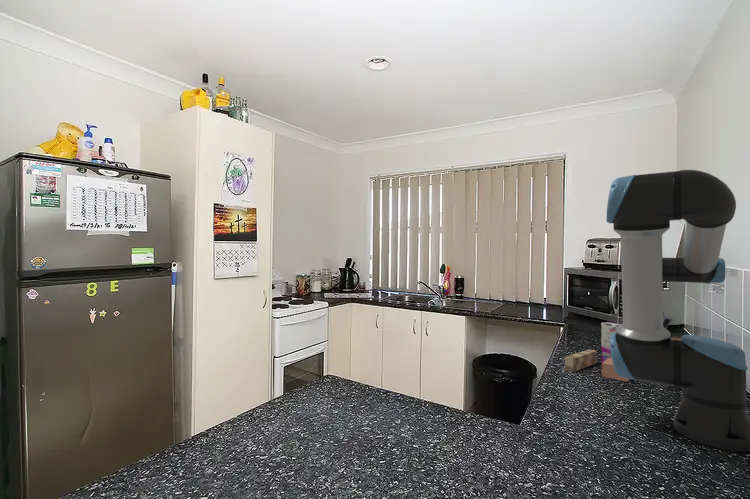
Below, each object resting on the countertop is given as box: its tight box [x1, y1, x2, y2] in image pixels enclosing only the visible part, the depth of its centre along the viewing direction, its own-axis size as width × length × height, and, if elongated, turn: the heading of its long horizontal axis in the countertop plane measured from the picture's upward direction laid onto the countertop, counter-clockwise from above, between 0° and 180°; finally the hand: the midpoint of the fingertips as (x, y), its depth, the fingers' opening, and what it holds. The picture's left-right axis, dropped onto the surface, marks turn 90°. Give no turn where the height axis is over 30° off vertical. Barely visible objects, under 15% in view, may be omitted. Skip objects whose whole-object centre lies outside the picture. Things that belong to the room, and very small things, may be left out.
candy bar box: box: [600, 321, 622, 364], centre depth 147 cm, size 11×5×16 cm, turn 25°
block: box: [601, 358, 631, 382], centre depth 136 cm, size 10×8×5 cm
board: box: [564, 349, 598, 373], centre depth 146 cm, size 19×3×5 cm, turn 126°
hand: (648, 364), depth 128 cm, fingers closed
